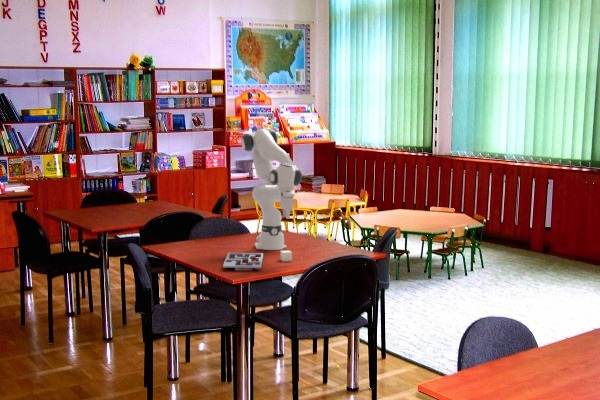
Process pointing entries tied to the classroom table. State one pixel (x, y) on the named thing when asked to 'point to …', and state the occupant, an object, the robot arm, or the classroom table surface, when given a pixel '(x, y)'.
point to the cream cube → (286, 256)
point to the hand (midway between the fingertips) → (286, 217)
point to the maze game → (243, 261)
